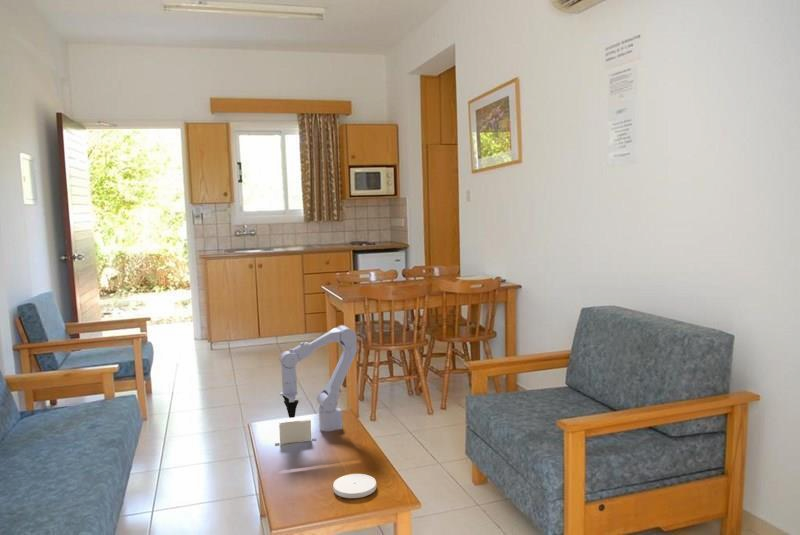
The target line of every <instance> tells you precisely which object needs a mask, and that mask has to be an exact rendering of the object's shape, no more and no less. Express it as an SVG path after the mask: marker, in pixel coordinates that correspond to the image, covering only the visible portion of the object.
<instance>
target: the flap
mask: <svg viewBox="0 0 800 535" xmlns="http://www.w3.org/2000/svg"><path fill="white" fill-rule="evenodd" d="M311 424H312V422H311V419H304V420H303V419H302V420H296V421H286V422H279V424H278V425H279V426H278V427H279V444H280V445H284V444H291V443H292V444H293V443H300V442H307V441H312V425H311Z"/></svg>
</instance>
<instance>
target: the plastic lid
mask: <svg viewBox="0 0 800 535" xmlns="http://www.w3.org/2000/svg"><path fill="white" fill-rule="evenodd" d="M332 485H333V486H332V487H333V488H332V489H333V492H334V494H335V495H336V496H338V497H341V498H345V499H358V498H364V497H367V496H369V495H371V494H372V493H374V492H375V491H376V489H377V481H376V479H375V478H374V477H373V476H371V475H368V474H364V473H349V474H346V475H343V476H340V477H338V478H337V479H335V480H334V481H333V484H332Z"/></svg>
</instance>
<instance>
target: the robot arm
mask: <svg viewBox="0 0 800 535" xmlns="http://www.w3.org/2000/svg"><path fill="white" fill-rule="evenodd" d="M357 340H358V336H357V334H356V333H355V331H354V330H353V329H352V328H349V327H348V326H346V325H344V324H340V325H338V326H337V327H334V328H332V329H331V330H329V331H327V332H326V333H323V335H321V336H319V337H317V338H316V339H314V340H313V341H311V342H307V341H305V342H303V341H302V342H299V345H297V346H295V347H294V348H290V349H289V350H285V351H282V353H281V355H280V356H279V362H280V364H281V382H282V384H281V385H282V386H281V387H282V392H279V396H282V398H283V403H284V405H285V407H286V411H287V415H288V418H289V419H291V418H293V419H294V418H295V416H296V412H297V406H298V404H299V399H296V396H297V395H298V386H297V384H298V382H297V369H296V366H297V363H299V362H301V361H302V360H304V359H306V358H308V357H310V356H312V355H313V354H314V351H315V350H317V349H318V348H321V347H323V346H325V345H327V344H330V343H333V342H334V343H340V345H341V347H342V353H341V356H340V358H339V360H338V361H337V364H336V366H335V367H334V370H333V372H332V374H331V377H330V378H329V381H328V383H327V385H325V386H324V387H323V389H322V390H321V391H320V392H319V393H318V395H317V397H316V400H317V403H318V404H319V408H318V420H319V421H318V423H319V430H320V431H321V432H333V431H339V430H343V413H342V412H343V411H342V408H341V407H338V401H339V398H340V389H341V387H342V385H343V382H344V380H345V378H346V375H347V374H348V372H349V370H350V369H351V368H350V367H351V365H352V363H353V361H354V358H355V357H356V355H357V352H358V344H357Z"/></svg>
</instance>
